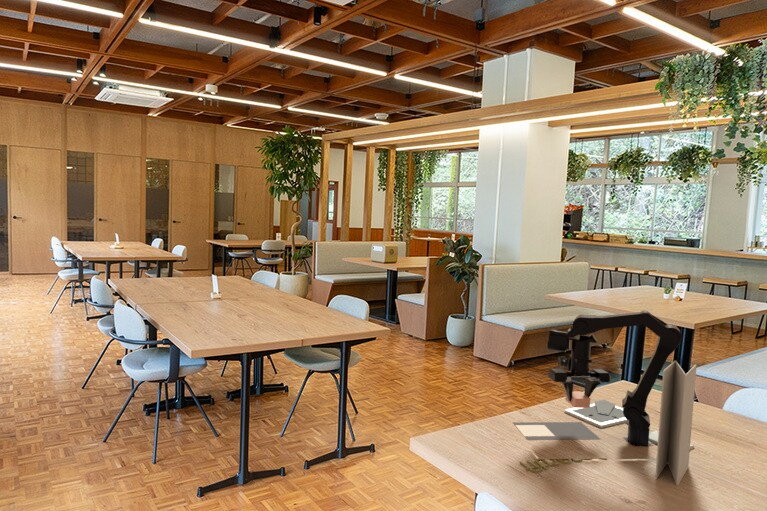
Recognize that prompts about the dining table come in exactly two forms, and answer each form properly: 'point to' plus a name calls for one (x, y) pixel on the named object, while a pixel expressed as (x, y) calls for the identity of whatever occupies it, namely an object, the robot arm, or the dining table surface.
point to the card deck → (579, 400)
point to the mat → (555, 431)
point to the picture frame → (600, 414)
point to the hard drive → (654, 438)
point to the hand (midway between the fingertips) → (577, 401)
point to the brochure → (675, 420)
